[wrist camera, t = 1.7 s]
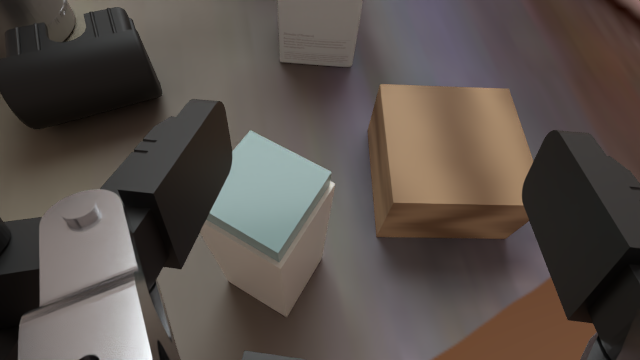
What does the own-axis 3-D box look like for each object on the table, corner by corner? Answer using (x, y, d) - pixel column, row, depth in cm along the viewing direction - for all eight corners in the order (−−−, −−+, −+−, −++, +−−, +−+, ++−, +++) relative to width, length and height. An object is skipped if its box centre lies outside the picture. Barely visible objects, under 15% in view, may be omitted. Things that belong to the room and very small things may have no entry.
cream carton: (286, 317, 25) (279, 260, 15) (228, 281, 26) (182, 202, 16) (322, 257, 28) (337, 170, 17) (266, 226, 29) (249, 125, 18)
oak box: (375, 237, 29) (393, 202, 24) (367, 132, 34) (380, 84, 29) (503, 240, 29) (548, 205, 24) (476, 135, 34) (508, 88, 29)
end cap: (47, 150, 31) (-11, 92, 25) (40, 89, 34) (-13, 25, 28) (171, 114, 33) (144, 54, 28) (153, 61, 37) (126, -3, 31)
